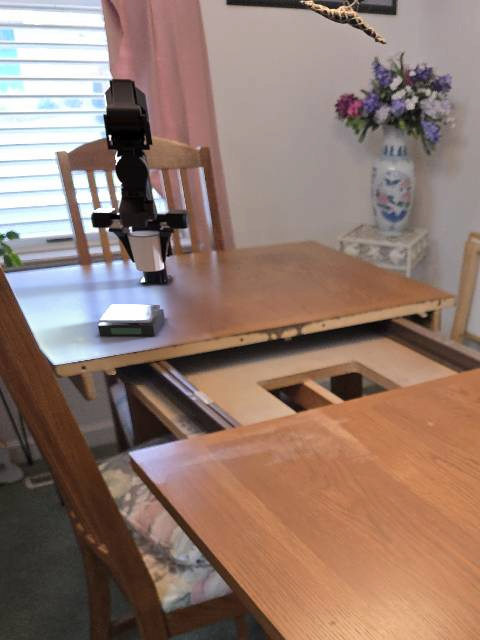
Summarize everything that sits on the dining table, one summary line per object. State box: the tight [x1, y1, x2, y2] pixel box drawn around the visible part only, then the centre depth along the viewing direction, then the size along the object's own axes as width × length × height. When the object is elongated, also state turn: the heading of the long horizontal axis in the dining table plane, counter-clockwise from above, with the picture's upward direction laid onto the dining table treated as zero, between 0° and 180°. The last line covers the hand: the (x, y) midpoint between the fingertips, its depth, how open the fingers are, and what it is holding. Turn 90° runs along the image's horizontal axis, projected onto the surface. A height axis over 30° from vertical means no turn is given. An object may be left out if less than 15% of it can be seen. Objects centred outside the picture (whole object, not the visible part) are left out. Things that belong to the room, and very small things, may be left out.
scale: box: [97, 308, 166, 337], centre depth 149 cm, size 11×11×3 cm
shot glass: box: [127, 230, 164, 272], centre depth 148 cm, size 7×7×7 cm
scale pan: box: [99, 304, 161, 323], centre depth 148 cm, size 10×10×1 cm
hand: (149, 262), depth 150 cm, fingers closed on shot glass, 6 cm apart
